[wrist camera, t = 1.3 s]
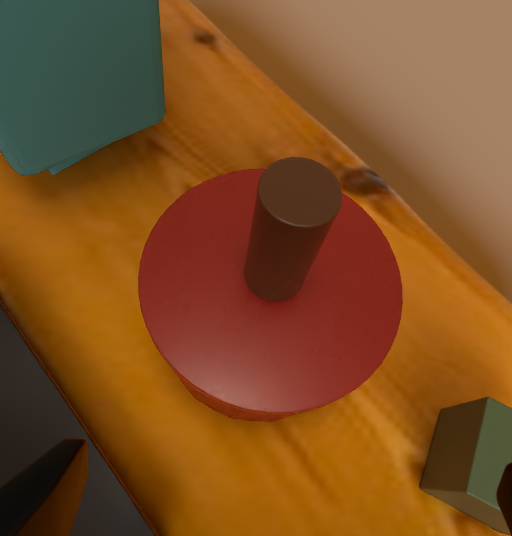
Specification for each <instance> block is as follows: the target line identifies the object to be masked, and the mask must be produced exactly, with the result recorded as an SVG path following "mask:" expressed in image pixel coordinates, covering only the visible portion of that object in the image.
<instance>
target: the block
mask: <svg viewBox="0 0 512 536" xmlns="http://www.w3.org/2000/svg"><path fill="white" fill-rule="evenodd" d="M509 463H512V408H510V407H508V406H506V405H504V404H502V403H500V402H498V401H496V400H494V399H492V398H490V397H485V398H481V399H477V400H474V401H470V402H466V403H462V404H458V405H455V406H451V407H447V408H443V409H441V412H440V416H439V420H438V423H437V427H436V430H435V434H434V438H433V441H432V445H431V448H430V452H429V456H428V459H427V463H426V466H425V470H424V474H423V477H422V481H421V484H420V489H421V490H423V491H425V492H427V493H429V494H430V495H432V496H434V497H436V498H438V499H440V500H441V501H443V502H445V503H447V504H449V505H451V506H453V507H454V508H456V509H458V510H460V511H462V512H464V513H465V514H467V515H469V516H471V517H473V518H475V519H477V520H478V521H480V522H482V523H484V524H486V525H488V526H489V527H491V528H493V529H495V530H497V531H499V532H501V533H505V534H510V531H509V529H508V527H507V524H506V522H505V519H504V517H503V515H502V512H501V510H500V508H499V505H498V502H497V498H496V491H497V488H498V485H499V482H500V480H501V477H502V474H503V472H504V469H505V467H506V465H507V464H509ZM510 535H511V534H510Z"/></svg>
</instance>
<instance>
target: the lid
mask: <svg viewBox="0 0 512 536" xmlns="http://www.w3.org/2000/svg"><path fill="white" fill-rule="evenodd" d="M138 288H139V299H140V306H141V311H142V314H143V317H144V321H145V324H146V327H147V329H148V331H149V333H150V335H151V337H152V340H153V342H154V344H155V346H156V347H157V349H158V350H159V352H160V353H161V355H162V356H163V358H164V359H165V361H166V362H167V363H168V364H169V365H170V367H171V368H172V369H173V370H174V371H175V372H176V373H177V374H178V375H179V376H180V377H181V378H182V379H183V380H184V381H186V382H187V383H188V384H189V385H190V386H192V387H193V388H194V389H196V390H198V391H199V392H201V393H202V394H204V395H206V396H207V397H209V398H211V399H213V400H215V401H217V402H220V403H222V404H224V405H226V406H229V407H233V408H236V409H239V410H243V411H246V412H253V413H259V414H278V415H285V414H293V413H301V412H306V411H309V410H313V409H316V408H320V407H323V406H325V405H327V404H330V403H332V402H334V401H336V400H338V399H340V398H342V397H344V396H345V395H347V394H348V393H350V392H352V391H353V390H355V389H356V388H358V387H359V386H360V385H361V384H362V383H363V382H365V381H366V380H367V379H368V378H369V377H370V376H371V375H372V374H373V373H374V372H375V370H376V369H377V368H378V367H379V366H380V365H381V363H382V362H383V360H384V359H385V357H386V355H387V354H388V352H389V351H390V349H391V346H392V344H393V342H394V339H395V337H396V335H397V331H398V327H399V324H400V320H401V312H402V304H403V300H402V283H401V277H400V271H399V268H398V265H397V262H396V258H395V256H394V253H393V251H392V249H391V247H390V244H389V242H388V241H387V239H386V237H385V236H384V234H383V232H382V231H381V229H380V228H379V227H378V225H377V224H376V223H375V222H374V220H373V219H372V218H371V217H370V216H369V215H368V214H367V213H366V212H365V211H364V210H363V208H362V207H360V206H359V205H358V204H357V203H356V202H354V201H353V200H352V199H351V198H350V197H348V196H347V195H345V194H344V193H342V190H341V186H340V184H339V182H338V180H337V178H336V177H335V176H334V174H333V173H332V172H331V171H330V170H329V169H328V168H326V167H325V166H323V165H322V164H320V163H318V162H316V161H313V160H310V159H307V158H300V157H290V158H285V159H281V160H279V161H276V162H274V163H273V164H271V165H270V166H269V167H268V168H267V169H248V170H242V171H235V172H231V173H227V174H223V175H220V176H217V177H215V178H212V179H210V180H207V181H205V182H203V183H201V184H199V185H197V186H196V187H194V188H192V189H191V190H189V191H188V192H186V193H185V194H183V195H182V196H181V197H180V198H178V199H177V200H176V201H175V202H174V203H173V204H172V205H171V206H170V207H169V208H168V209H167V210H166V211H165V213H164V214H163V215H162V216H161V217H160V219H159V220H158V222H157V223H156V225H155V227H154V228H153V230H152V231H151V233H150V236H149V238H148V240H147V242H146V244H145V247H144V251H143V254H142V258H141V261H140V269H139V276H138Z"/></svg>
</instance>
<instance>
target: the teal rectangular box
mask: <svg viewBox="0 0 512 536" xmlns="http://www.w3.org/2000/svg"><path fill="white" fill-rule="evenodd" d="M165 112H166V111H165V96H164V80H163V64H162V49H161V33H160V17H159V2H158V0H0V151H1V153H2V154H3V156H4V157H5V159H6V160H7V162H8V163H9V165H10V166H11V168H13V169H14V170H15V171H16V172H17V173H19V174H20V175H24V176H29V175H35V174H37V173H39V172H42V171H44V170H48V171H49V172H50V173H51V174H52V175H55V174H56V173H58V172H60V171H62V170H64V169H65V168H67V167H69V166H71V165H73V164H74V163H76V162H78V161H80V160H82V159H83V158H85V157H87V156H89V155H91V154H92V153H94V152H96V151H98V150H100V149H101V148H103V147H105V146H107V145H109V144H111V143H112V142H115V141H117V140H119V139H122V138H124V137H127V136H129V135H132V134H134V133H136V132H139V131H141V130H144V129H146V128H149V127H151V126H153V125H156V124H158V123H159V122H161V121H162V120H163V118H164V115H165Z"/></svg>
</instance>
